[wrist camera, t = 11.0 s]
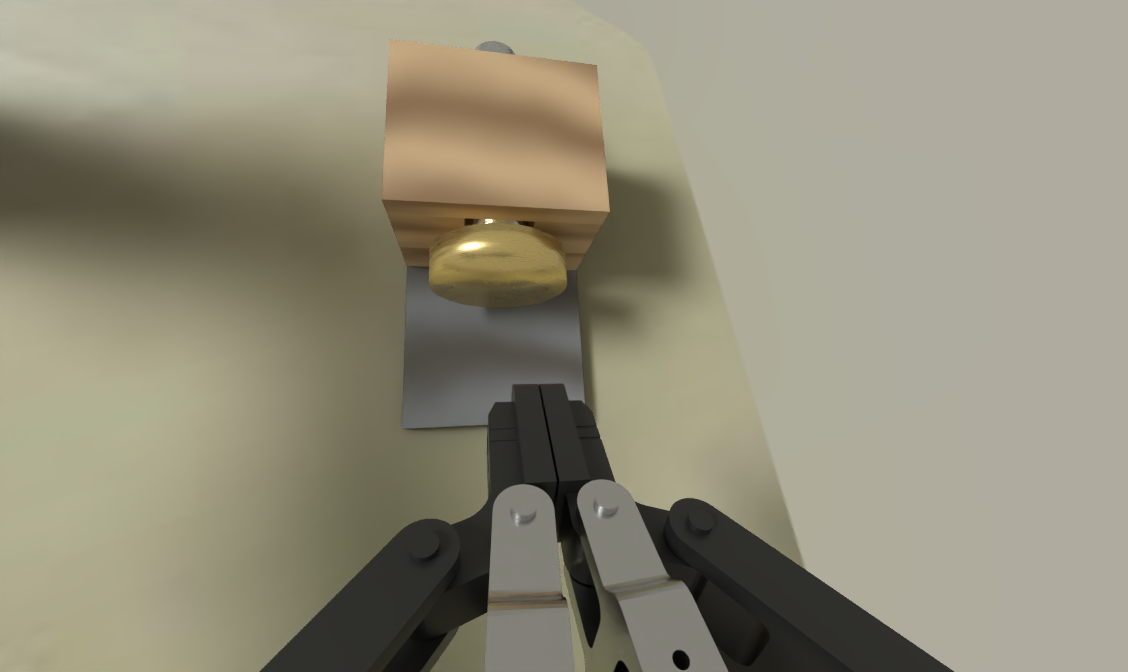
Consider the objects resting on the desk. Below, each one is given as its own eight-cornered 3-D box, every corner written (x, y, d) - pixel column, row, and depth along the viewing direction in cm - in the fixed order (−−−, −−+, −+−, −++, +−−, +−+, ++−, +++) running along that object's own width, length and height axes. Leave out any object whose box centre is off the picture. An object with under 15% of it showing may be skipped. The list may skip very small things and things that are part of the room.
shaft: (554, 308, 30) (581, 261, 22) (435, 307, 28) (420, 256, 21) (543, 110, 34) (563, 13, 26) (438, 99, 32) (427, -7, 25)
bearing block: (582, 420, 31) (627, 410, 22) (404, 429, 28) (371, 421, 19) (565, 161, 36) (596, 65, 26) (413, 149, 33) (389, 39, 24)
